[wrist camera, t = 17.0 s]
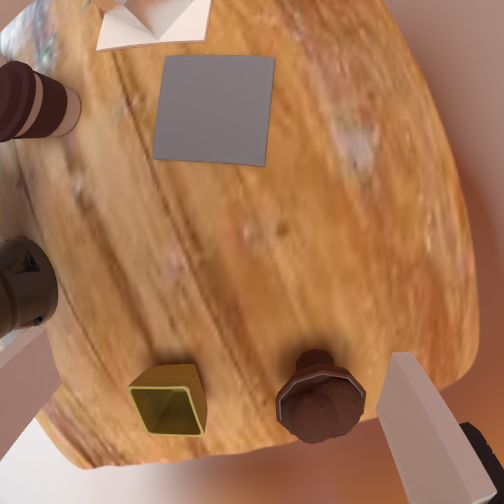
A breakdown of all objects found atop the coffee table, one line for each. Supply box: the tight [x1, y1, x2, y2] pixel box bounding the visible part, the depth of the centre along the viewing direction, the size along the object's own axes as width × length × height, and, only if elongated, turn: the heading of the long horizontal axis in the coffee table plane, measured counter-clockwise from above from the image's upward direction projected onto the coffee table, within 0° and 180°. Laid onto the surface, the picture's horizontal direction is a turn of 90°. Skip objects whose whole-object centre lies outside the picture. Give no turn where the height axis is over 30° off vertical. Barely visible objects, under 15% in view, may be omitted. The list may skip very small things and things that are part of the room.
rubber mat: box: [153, 55, 275, 167], centre depth 37 cm, size 14×14×1 cm
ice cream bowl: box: [275, 350, 366, 444], centre depth 36 cm, size 11×11×15 cm
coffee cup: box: [0, 61, 81, 142], centre depth 31 cm, size 10×10×15 cm
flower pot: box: [127, 364, 207, 437], centre depth 41 cm, size 9×9×9 cm
